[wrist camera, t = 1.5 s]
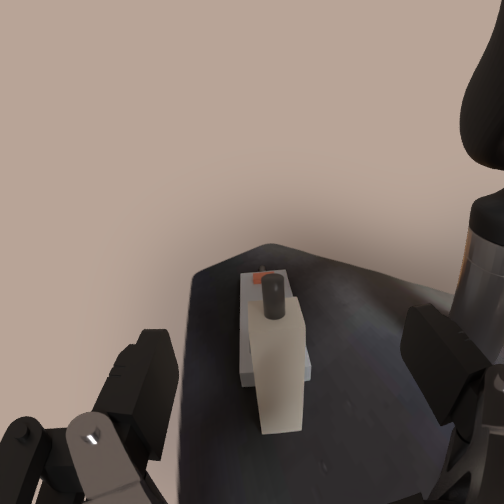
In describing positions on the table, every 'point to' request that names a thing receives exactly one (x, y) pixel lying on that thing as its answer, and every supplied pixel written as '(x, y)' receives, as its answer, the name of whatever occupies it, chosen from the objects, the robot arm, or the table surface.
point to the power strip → (248, 292)
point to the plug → (277, 356)
